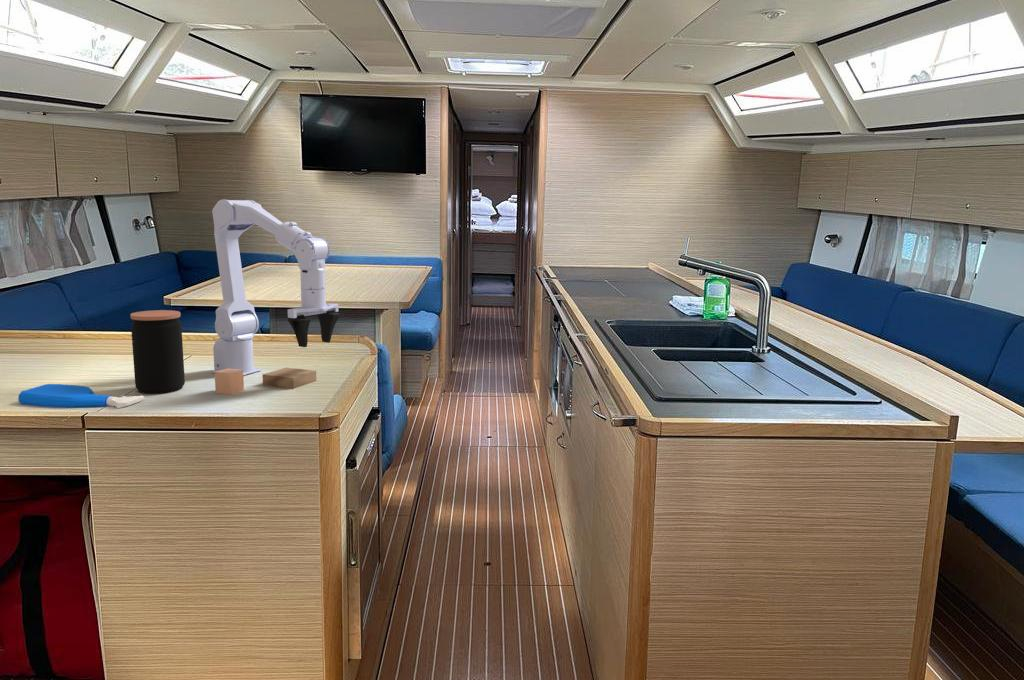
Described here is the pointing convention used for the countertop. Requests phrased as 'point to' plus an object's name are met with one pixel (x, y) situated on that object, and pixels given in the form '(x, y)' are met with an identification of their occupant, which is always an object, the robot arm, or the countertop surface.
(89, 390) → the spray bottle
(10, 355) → the countertop surface
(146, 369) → the coffee jar
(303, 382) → the walnut box
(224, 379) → the peach block
